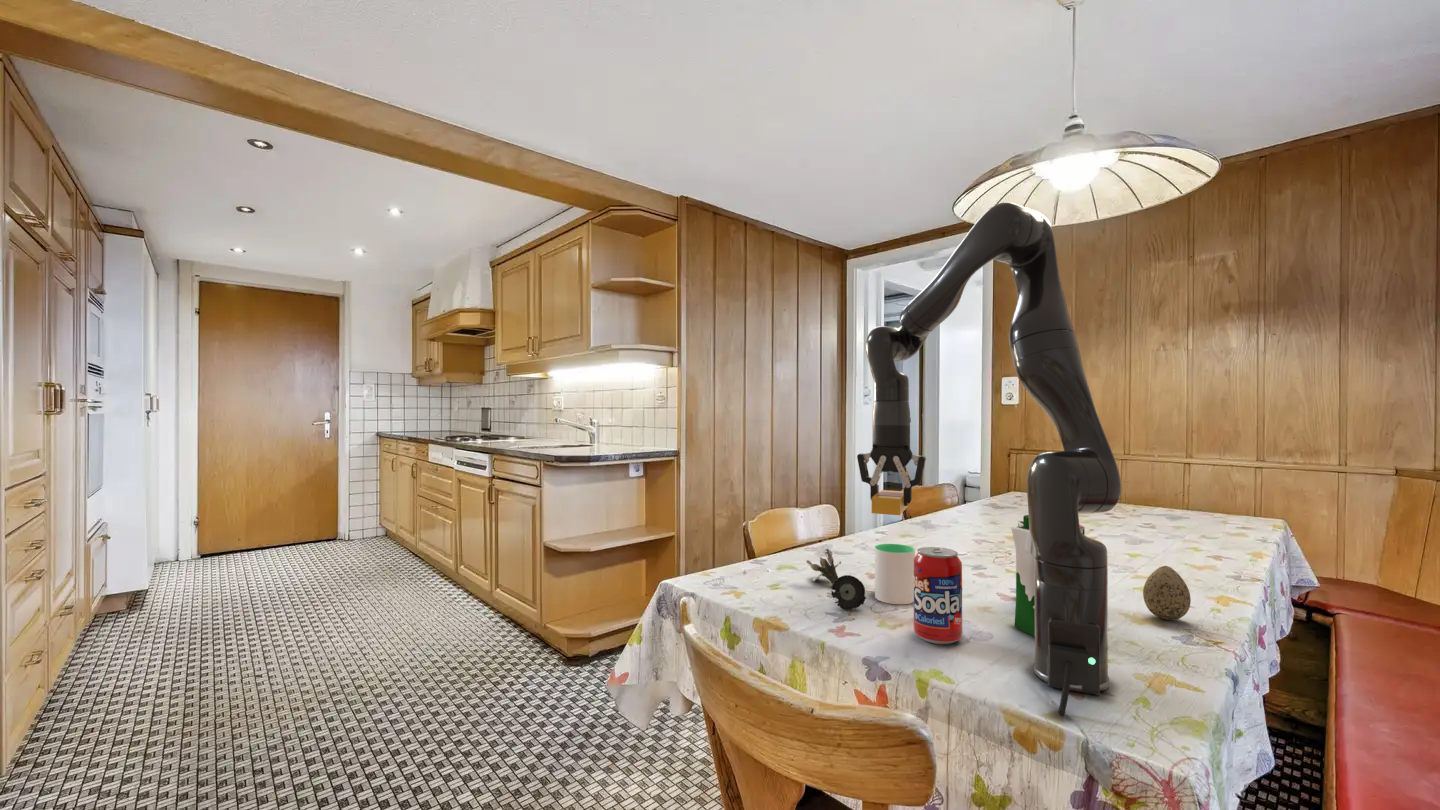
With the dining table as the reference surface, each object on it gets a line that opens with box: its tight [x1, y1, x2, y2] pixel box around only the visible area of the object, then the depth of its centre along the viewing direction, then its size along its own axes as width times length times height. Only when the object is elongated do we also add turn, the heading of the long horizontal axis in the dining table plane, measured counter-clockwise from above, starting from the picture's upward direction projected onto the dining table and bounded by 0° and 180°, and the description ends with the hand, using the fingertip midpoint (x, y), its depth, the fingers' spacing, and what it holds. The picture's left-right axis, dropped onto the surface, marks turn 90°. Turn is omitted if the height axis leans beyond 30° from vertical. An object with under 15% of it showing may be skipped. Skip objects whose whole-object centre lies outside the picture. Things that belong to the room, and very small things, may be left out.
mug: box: [874, 543, 916, 605], centre depth 126 cm, size 12×8×10 cm
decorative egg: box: [1142, 565, 1192, 621], centre depth 111 cm, size 7×7×10 cm
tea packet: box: [871, 489, 909, 516], centre depth 123 cm, size 12×6×3 cm, turn 155°
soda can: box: [913, 546, 963, 645], centre depth 102 cm, size 8×8×15 cm
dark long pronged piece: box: [805, 548, 867, 611], centre depth 128 cm, size 9×22×10 cm, turn 179°
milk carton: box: [1010, 514, 1035, 637], centre depth 105 cm, size 9×9×20 cm
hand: (890, 504), depth 123 cm, fingers closed on tea packet, 5 cm apart
